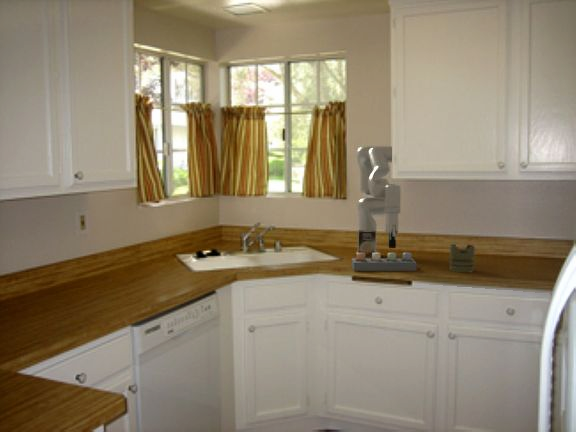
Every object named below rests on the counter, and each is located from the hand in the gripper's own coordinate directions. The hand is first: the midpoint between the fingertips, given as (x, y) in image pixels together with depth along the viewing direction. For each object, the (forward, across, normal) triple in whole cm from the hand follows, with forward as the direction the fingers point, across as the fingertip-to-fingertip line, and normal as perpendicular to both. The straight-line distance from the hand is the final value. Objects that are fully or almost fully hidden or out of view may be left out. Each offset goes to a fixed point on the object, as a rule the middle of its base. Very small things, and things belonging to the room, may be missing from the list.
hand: (392, 247), depth 304 cm
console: (+10, -1, -4) cm, 11 cm away
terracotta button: (+7, -1, -15) cm, 17 cm away
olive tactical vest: (+11, +4, +33) cm, 35 cm away
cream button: (+7, -1, -8) cm, 10 cm away
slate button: (+7, -1, +7) cm, 10 cm away
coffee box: (+10, -21, -10) cm, 25 cm away
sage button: (+7, -1, 0) cm, 7 cm away
